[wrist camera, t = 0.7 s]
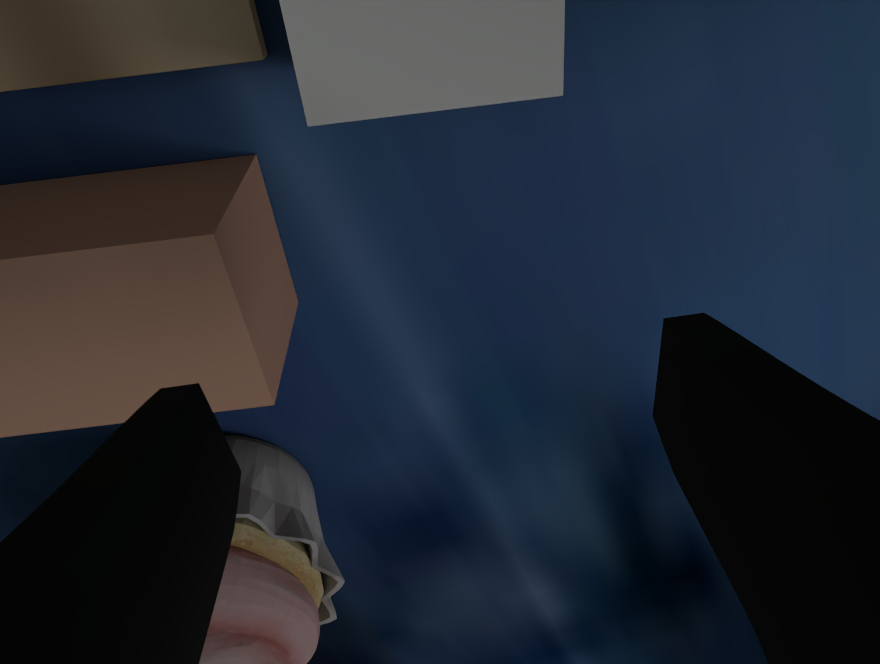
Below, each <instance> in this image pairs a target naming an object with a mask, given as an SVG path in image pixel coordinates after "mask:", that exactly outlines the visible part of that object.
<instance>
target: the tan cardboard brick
mask: <svg viewBox="0 0 880 664" xmlns="http://www.w3.org/2000/svg"><path fill="white" fill-rule="evenodd" d="M297 306H298V299H297V296H296V292H295V289H294V285H293V282H292V278H291V275H290V271H289V268H288V264H287V261H286V257H285V254H284V250H283V247H282V243H281V240H280V236H279V233H278V229H277V226H276V222H275V219H274V215H273V212H272V208H271V205H270V201H269V198H268V194H267V191H266V187H265V183H264V180H263V176H262V173H261V169H260V166H259V162H258V159H257V155H256V154H255V155H246V156H238V157H230V158H222V159H213V160H205V161H197V162H189V163H180V164H172V165H164V166H156V167H147V168H139V169H131V170H122V171H114V172H106V173H98V174H89V175H81V176H73V177H65V178H56V179H48V180H40V181H32V182H23V183H15V184H7V185H0V438H1V437H9V436H18V435H26V434H34V433H43V432H51V431H60V430H68V429H77V428H85V427H93V426H102V425H110V424H119V423H124V422H125V421H126V420H127V419H128V418H129V417H130V416H131V415H132V414H134V413H135V412H136V411H137V410H138V409H139V408H140V407H141V406H142V405H143V404H144V403H145V402H146V401H147V400H148V399H149V398H150V397H151V396H153V395H154V394H155V393H156V392H157V391H158V390H159V389H160V388H167V387H174V386H181V385H188V384H196V383H199V384H200V386H201V388H202V390H203V393H204V395H205V397H206V399H207V401H208V403H209V405H210V407H211V409H212V411H213V412H220V411H228V410H237V409H245V408H254V407H262V406H271V405H274V404H275V400H276V396H277V391H278V387H279V383H280V378H281V374H282V370H283V366H284V361H285V357H286V353H287V348H288V344H289V340H290V336H291V331H292V327H293V323H294V318H295V314H296V310H297Z"/></svg>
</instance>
